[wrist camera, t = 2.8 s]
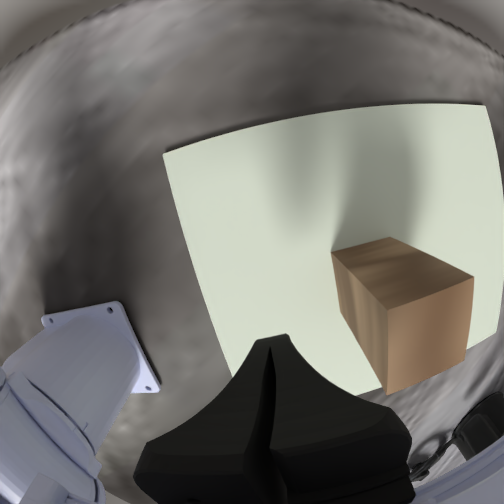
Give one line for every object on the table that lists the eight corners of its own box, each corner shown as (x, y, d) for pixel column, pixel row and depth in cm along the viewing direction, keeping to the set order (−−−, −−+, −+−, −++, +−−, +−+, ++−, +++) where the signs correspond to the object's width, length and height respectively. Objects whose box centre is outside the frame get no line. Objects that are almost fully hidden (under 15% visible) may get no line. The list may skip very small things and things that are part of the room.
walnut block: (340, 311, 16) (386, 395, 9) (330, 252, 16) (387, 310, 8) (395, 295, 16) (464, 360, 8) (390, 236, 15) (474, 276, 7)
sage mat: (249, 414, 19) (249, 418, 19) (164, 154, 15) (162, 154, 15) (493, 330, 17) (496, 332, 17) (482, 106, 13) (485, 105, 12)
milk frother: (510, 390, 19) (560, 449, 5) (447, 465, 23) (476, 526, 9) (461, 392, 19) (525, 483, 5) (383, 477, 23) (408, 560, 8)
